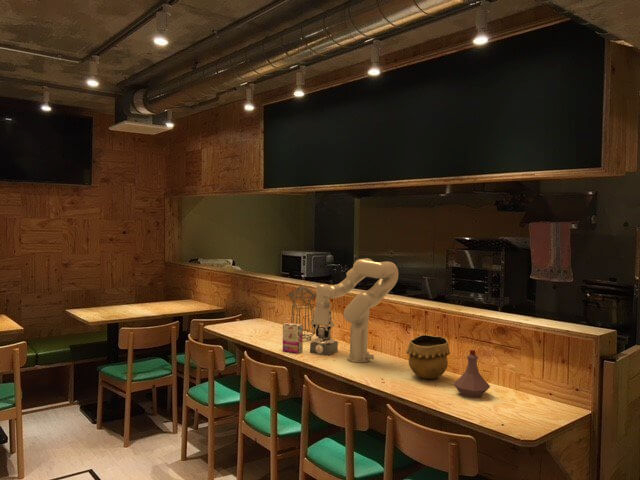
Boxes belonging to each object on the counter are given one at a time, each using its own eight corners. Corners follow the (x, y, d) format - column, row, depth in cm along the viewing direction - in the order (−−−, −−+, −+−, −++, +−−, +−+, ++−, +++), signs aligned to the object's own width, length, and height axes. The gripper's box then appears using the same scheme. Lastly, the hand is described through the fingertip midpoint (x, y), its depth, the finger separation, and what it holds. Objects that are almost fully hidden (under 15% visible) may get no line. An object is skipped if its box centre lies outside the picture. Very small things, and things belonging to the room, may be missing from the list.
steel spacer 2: (332, 338, 313) (332, 328, 312) (328, 340, 308) (328, 330, 308) (324, 337, 315) (324, 327, 315) (320, 339, 310) (320, 329, 310)
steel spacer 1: (327, 337, 307) (328, 327, 307) (324, 338, 303) (324, 328, 303) (320, 336, 310) (320, 326, 309) (316, 337, 305) (316, 327, 305)
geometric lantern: (318, 341, 336) (319, 287, 334) (295, 344, 329) (295, 288, 327) (308, 336, 350) (308, 283, 348) (286, 338, 343) (286, 285, 341)
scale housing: (337, 351, 312) (337, 341, 312) (328, 356, 301) (328, 345, 300) (319, 348, 317) (319, 338, 317) (309, 353, 306) (309, 342, 306)
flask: (474, 403, 227) (476, 357, 226) (444, 392, 240) (446, 349, 240) (498, 396, 237) (499, 352, 236) (468, 386, 250) (469, 344, 249)
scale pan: (337, 341, 312) (337, 339, 312) (328, 345, 301) (328, 343, 301) (319, 338, 317) (319, 336, 317) (310, 342, 306) (310, 340, 306)
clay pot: (436, 387, 247) (437, 345, 246) (397, 378, 261) (398, 338, 260) (457, 378, 263) (458, 338, 262) (419, 369, 277) (420, 331, 276)
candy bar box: (302, 352, 308) (303, 324, 308) (298, 354, 304) (299, 325, 303) (286, 349, 313) (287, 322, 313) (282, 351, 309) (282, 323, 308)
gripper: (338, 305, 305) (338, 337, 306) (312, 303, 313) (312, 333, 313) (333, 307, 298) (332, 339, 299) (306, 305, 306) (306, 336, 307)
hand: (322, 336), depth 306 cm, fingers closed on steel spacer 1, 4 cm apart
